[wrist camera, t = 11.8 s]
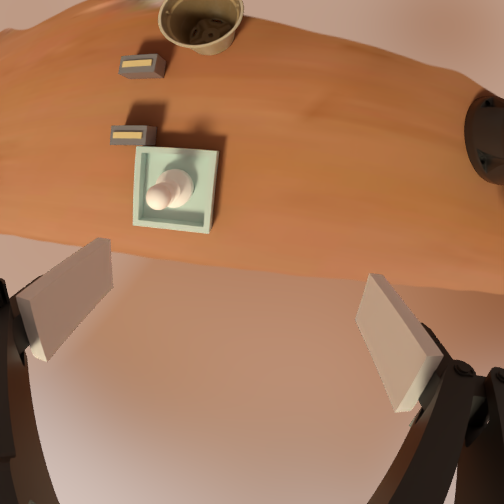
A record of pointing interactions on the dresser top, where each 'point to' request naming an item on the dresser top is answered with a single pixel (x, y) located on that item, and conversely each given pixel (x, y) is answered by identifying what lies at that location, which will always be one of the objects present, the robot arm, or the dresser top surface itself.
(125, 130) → the fuse holder
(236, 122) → the dresser top surface
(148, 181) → the tray
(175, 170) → the chess pawn
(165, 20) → the flower pot
